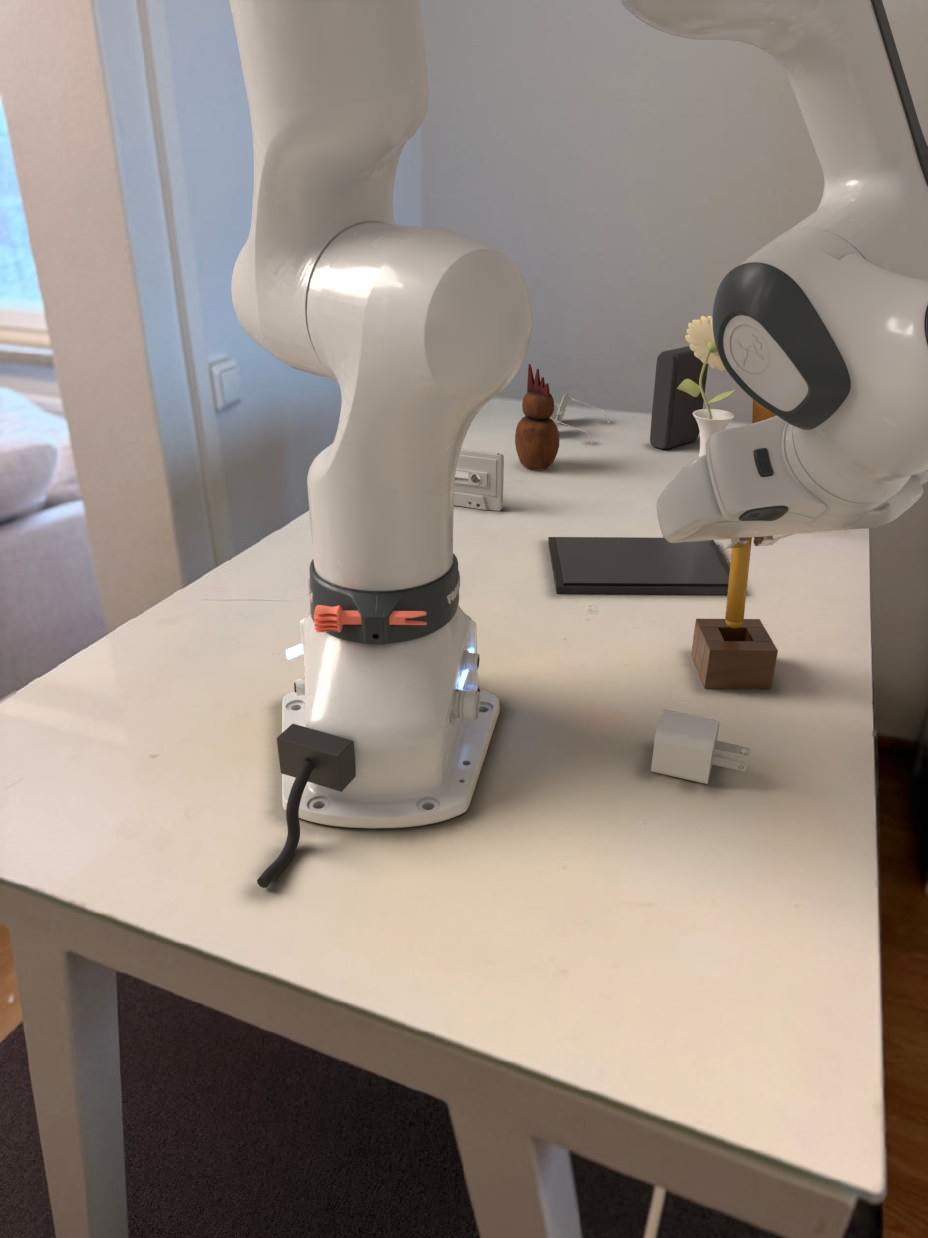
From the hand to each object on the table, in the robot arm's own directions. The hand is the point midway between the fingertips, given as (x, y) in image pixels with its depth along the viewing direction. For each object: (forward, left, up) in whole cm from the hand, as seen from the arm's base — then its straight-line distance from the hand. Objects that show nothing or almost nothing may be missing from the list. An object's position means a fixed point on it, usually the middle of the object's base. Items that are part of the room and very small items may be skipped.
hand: (744, 539), depth 79 cm
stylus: (-1, 0, -8) cm, 8 cm away
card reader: (+70, -8, -13) cm, 72 cm away
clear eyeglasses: (+77, +7, -13) cm, 79 cm away
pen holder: (-1, 0, -13) cm, 13 cm away
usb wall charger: (-16, +6, -13) cm, 21 cm away
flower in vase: (+38, -5, -13) cm, 41 cm away
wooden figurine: (+58, +15, -13) cm, 62 cm away
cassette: (+42, +26, -13) cm, 51 cm away
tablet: (+22, +5, -13) cm, 26 cm away
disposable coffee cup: (+67, -23, -13) cm, 73 cm away
